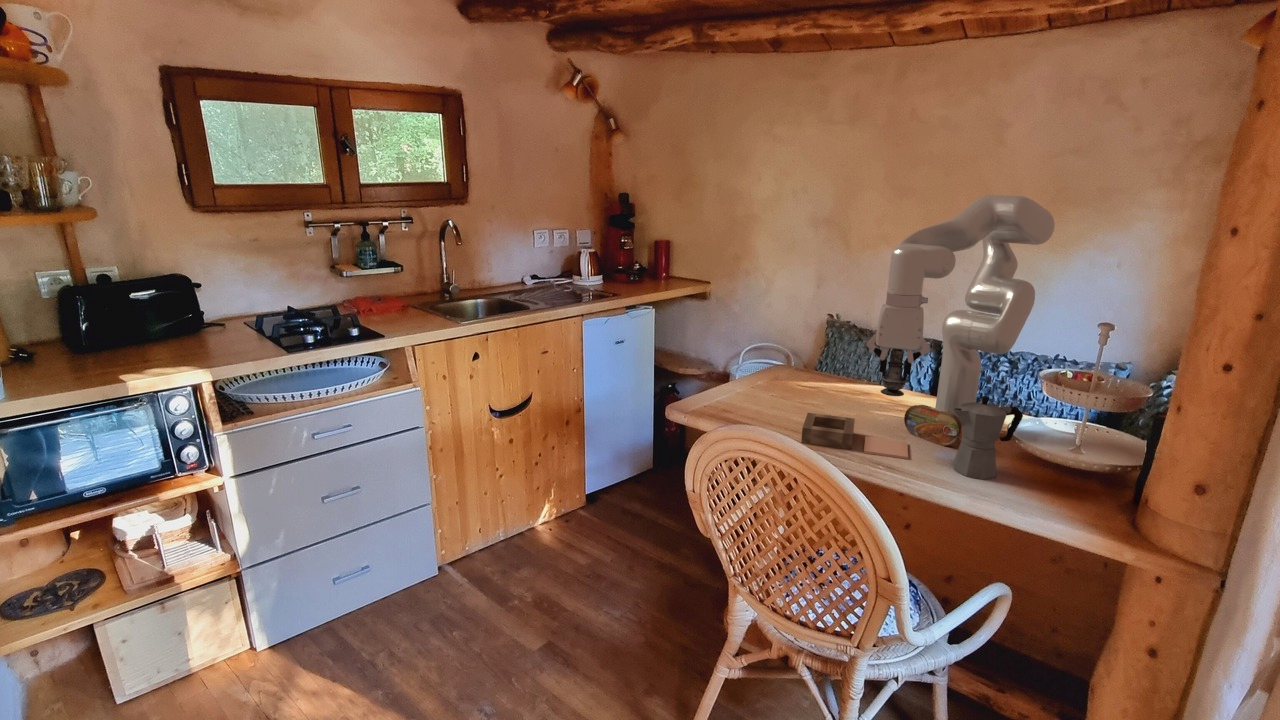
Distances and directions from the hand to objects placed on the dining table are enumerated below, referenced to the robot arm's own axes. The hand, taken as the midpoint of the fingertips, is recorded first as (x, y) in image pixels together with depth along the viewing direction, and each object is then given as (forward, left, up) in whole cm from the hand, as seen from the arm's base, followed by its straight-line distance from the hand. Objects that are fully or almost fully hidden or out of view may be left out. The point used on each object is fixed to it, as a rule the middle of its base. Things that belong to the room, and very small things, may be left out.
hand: (894, 375), depth 154 cm
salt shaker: (0, 0, -5) cm, 5 cm away
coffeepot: (-20, +6, -19) cm, 28 cm away
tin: (-11, -11, -19) cm, 25 cm away
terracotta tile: (0, 0, -19) cm, 19 cm away
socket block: (+14, -2, -19) cm, 23 cm away
